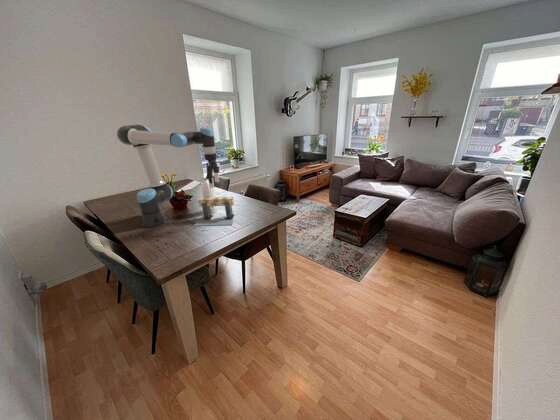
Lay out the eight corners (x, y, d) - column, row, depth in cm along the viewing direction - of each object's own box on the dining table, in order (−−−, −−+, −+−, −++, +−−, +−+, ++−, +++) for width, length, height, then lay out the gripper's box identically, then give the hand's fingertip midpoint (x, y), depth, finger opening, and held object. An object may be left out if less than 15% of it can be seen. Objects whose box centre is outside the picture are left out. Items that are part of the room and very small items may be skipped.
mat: (193, 226, 150) (193, 225, 149) (197, 221, 156) (197, 221, 156) (231, 225, 149) (231, 224, 149) (233, 220, 155) (233, 219, 155)
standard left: (203, 220, 158) (199, 204, 153) (206, 216, 164) (203, 200, 159) (210, 220, 158) (207, 203, 153) (212, 215, 164) (210, 200, 159)
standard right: (225, 219, 157) (222, 203, 152) (227, 215, 164) (225, 199, 159) (232, 219, 157) (230, 203, 152) (234, 215, 164) (232, 199, 159)
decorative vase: (214, 214, 166) (209, 182, 156) (201, 214, 168) (195, 182, 158) (221, 209, 176) (216, 178, 166) (208, 208, 178) (203, 178, 168)
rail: (199, 206, 155) (197, 199, 153) (201, 204, 159) (199, 197, 157) (233, 205, 155) (232, 198, 153) (234, 203, 158) (233, 196, 156)
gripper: (210, 156, 132) (215, 190, 141) (220, 150, 155) (224, 179, 164) (197, 156, 132) (203, 190, 141) (209, 150, 155) (214, 179, 164)
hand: (214, 184), depth 152 cm, fingers open, 13 cm apart
